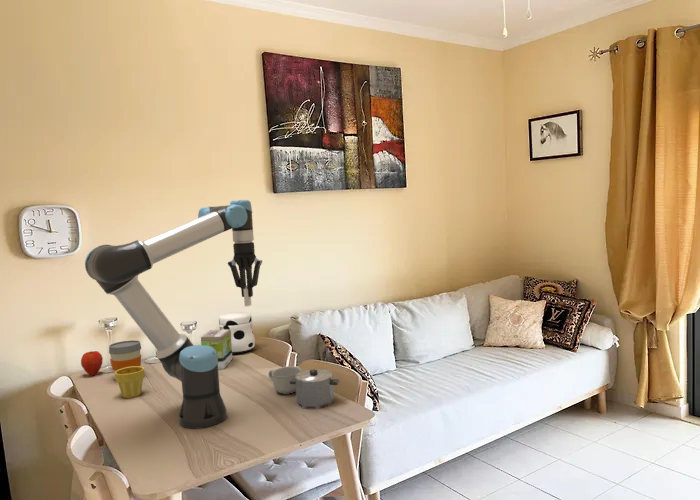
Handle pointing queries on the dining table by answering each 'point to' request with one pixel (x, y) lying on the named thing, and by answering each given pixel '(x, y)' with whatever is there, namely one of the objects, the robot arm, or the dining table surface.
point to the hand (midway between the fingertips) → (248, 305)
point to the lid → (313, 375)
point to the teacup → (284, 378)
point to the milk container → (238, 330)
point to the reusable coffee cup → (125, 354)
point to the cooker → (315, 393)
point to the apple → (91, 362)
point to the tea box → (219, 345)
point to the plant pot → (130, 380)
